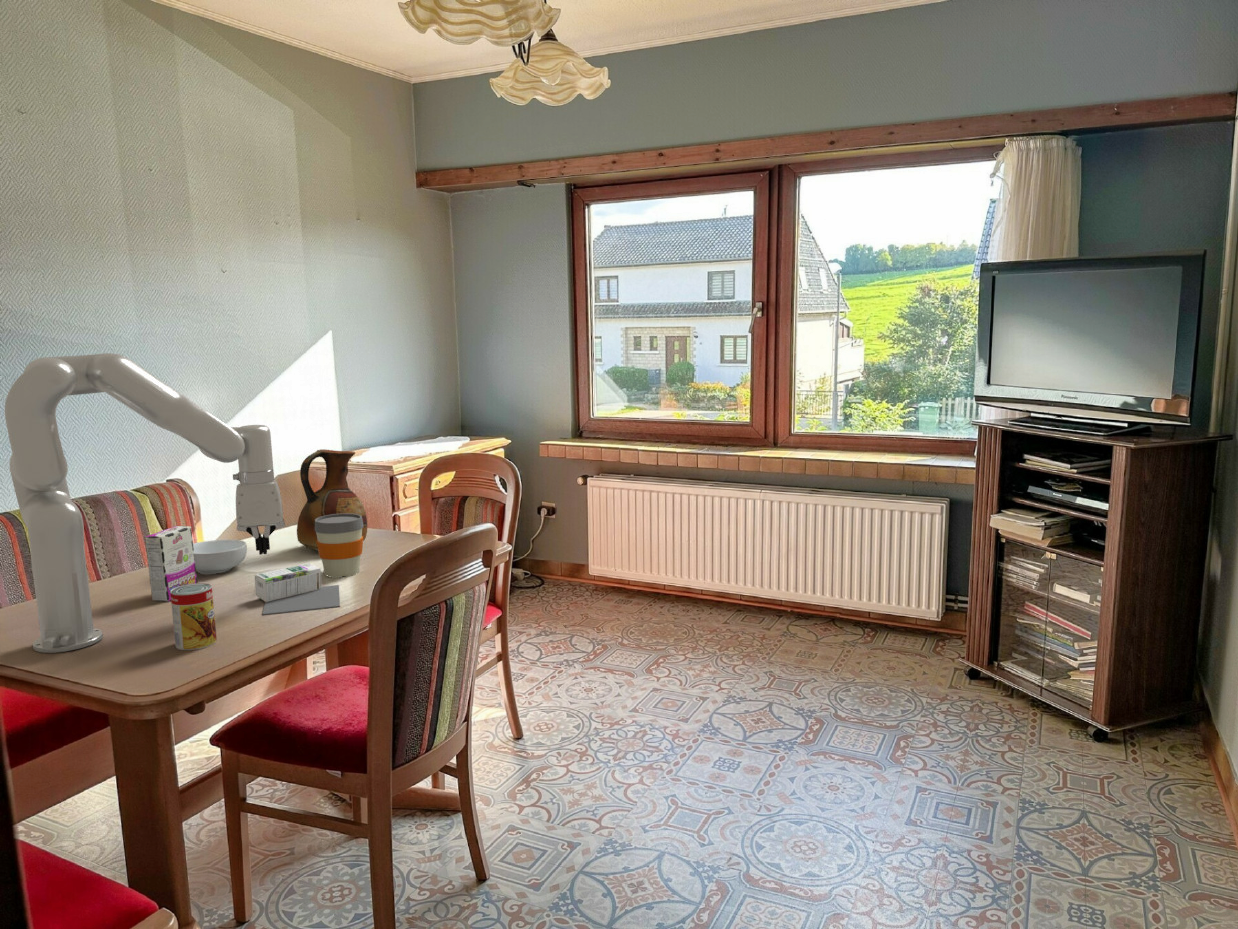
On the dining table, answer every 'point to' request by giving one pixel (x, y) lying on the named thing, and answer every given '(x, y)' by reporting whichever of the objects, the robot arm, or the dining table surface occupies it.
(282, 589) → the syrup box
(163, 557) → the candy bar box
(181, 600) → the canned food
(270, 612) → the mat
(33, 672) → the dining table surface
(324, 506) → the ceramic pitcher
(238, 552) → the cereal bowl
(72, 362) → the robot arm
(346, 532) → the reusable coffee cup
